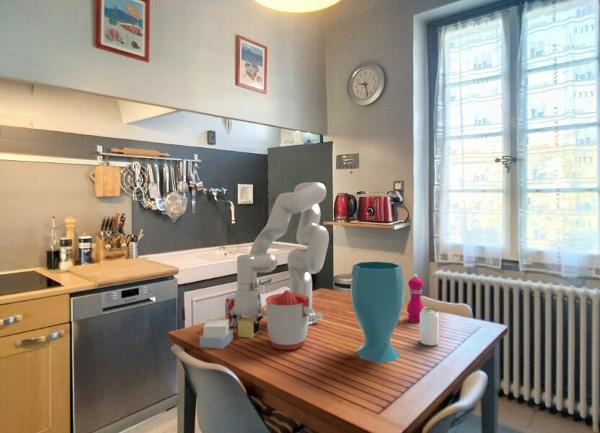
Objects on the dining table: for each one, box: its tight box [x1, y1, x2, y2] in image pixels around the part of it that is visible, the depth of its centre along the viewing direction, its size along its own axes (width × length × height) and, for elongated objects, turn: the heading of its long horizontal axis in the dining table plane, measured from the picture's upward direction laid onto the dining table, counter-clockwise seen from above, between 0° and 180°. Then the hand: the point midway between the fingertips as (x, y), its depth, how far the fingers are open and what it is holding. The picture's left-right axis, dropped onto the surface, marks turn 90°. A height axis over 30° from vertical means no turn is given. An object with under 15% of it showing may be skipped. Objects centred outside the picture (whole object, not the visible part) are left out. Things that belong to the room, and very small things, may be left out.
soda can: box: [224, 294, 237, 328], centre depth 155 cm, size 7×7×12 cm
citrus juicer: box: [265, 289, 314, 351], centre depth 132 cm, size 16×17×20 cm
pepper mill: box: [406, 273, 425, 323], centre depth 157 cm, size 7×7×20 cm
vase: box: [350, 261, 405, 364], centre depth 123 cm, size 17×17×30 cm
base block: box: [199, 329, 234, 350], centre depth 135 cm, size 9×9×4 cm
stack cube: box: [237, 316, 259, 339], centre depth 144 cm, size 6×6×6 cm
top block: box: [202, 318, 230, 338], centre depth 135 cm, size 8×8×4 cm
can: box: [419, 307, 440, 347], centre depth 132 cm, size 6×6×12 cm
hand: (248, 331), depth 144 cm, fingers closed on stack cube, 6 cm apart
